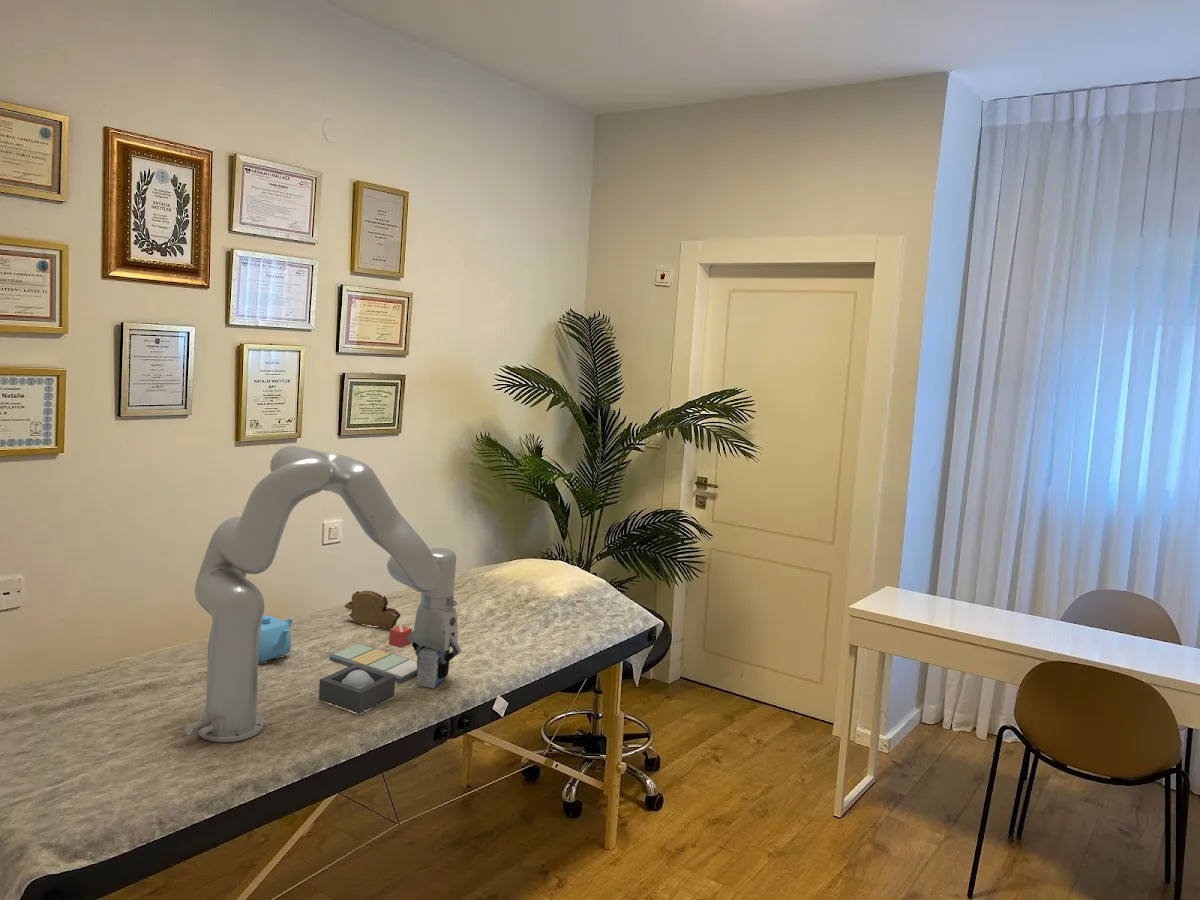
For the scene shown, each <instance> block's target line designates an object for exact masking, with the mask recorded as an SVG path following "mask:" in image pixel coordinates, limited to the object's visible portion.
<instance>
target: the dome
mask: <svg viewBox="0 0 1200 900" xmlns="http://www.w3.org/2000/svg"><path fill="white" fill-rule="evenodd" d="M373 682H374V680H373V679H372V678H371V677H370V676H369V674H368V673H367V672H365V671H363V670H354V671H352V672H350V673H349V674H348V675H347V676H346V678H344V679H343V680H342V683H344V684H347V685H350V686H353V687H356V688H358V689H361V688H363V687H365V686H367V685H369V684H371V683H373Z"/></svg>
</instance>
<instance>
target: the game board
mask: <svg viewBox="0 0 1200 900" xmlns="http://www.w3.org/2000/svg"><path fill="white" fill-rule="evenodd" d="M329 661H332V662H335V663H338V664H341V665H344V666H347V667H349V666H351V665H354V664H359V665H362V666H365V667H369V668H372V669H375V670H378V671H381V672H384V673H387V674H390V675H393V676H396V677H395V683H399V684H402V683H403V681H404V682H406V681H408V680H409V678H410V679H412V678H414V677H416V676H418V672H417V660H414V659H411V658H408V657H405V656H401V655H398V654H395V653H392V652H388V651H386V650H382V649H379V648H375V647H373V646H369V645H366V644H363V643H356V644H354V645H352V646H350V647H346V648H345V649H341V650H340V651H338V652H334V653H333V654H332V655H329ZM415 675H416V676H415ZM413 676H414V677H413ZM411 677H412V678H411ZM407 679H408V680H407ZM405 680H406V681H405ZM401 682H402V683H401Z"/></svg>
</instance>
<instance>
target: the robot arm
mask: <svg viewBox="0 0 1200 900" xmlns="http://www.w3.org/2000/svg"><path fill="white" fill-rule="evenodd" d="M269 468H270V473H268V474H266V475H265V476H264V477H263V478H262V479H261V480H260V481H259V482H258V483H257V484H256V485H255V487H254V488H253V489H252V491H251V493H250V494H249V497H248V499H247V501H246V504H245V506H244V509H243V511H242V514H241V516H234V517H230V518H228V519H226V520H224V521H222V523H220V525H219V526H218V527H217V528H216V529H215V531H213V534H212V536H211V538H210V541H209V542H208V546H207V549H206V551H205V555H204V557H203V560H202V563H201V565H200V569H199V572H198V575H197V578H196V581H195V586H194V595H195V598H196V601H197V603H198V604H199V605H200V606H201V608H203V610H204V611H206V612H207V613H208V614H209V616H211V618H212V619H211V620H212V624H211V628H210V632H209V637H208V643H207V665H206V666H207V671H206V701H205V702H206V703H205V704H206V706H205V710H204V711H201V716H200V718H198V720H197V721H196V722H195V721H194V722H192V723H189V724H187V725H185V727H184V732H185V733H186V734H187V735H188V736H190V735H194V734H196V733H197V734H198V735H199V736H200V737H201V738H202V739H204V740H207V741H210V742H216V743H233V742H240V741H243V740H244V741H245V740H248V739H250V738H253V737H255V736H256V735H258V734H260V732H262V730H263V729H264V727H265V719H264V717H263V716H262V715H261V714H259V713H257V708H258V684H259V683H258V681H259V680H258V679H259V677H258V676H259V663H258V658H259V637H260V629H261V623H262V619H263V616H264V613H265V599H264V596H263V594H262V592H261V591H260V589H259V588H258V587H257V585H256V584H254V582H252V581H250V580H249V579H248V578H246V576H247V574H248V575H257V574H258V575H259V574H261V573H264V572H265V571H267V570H268V569H269V568H270V567H271V566H272V564H273V562H274V559H275V557H276V554H277V551H278V548H279V545H280V542H281V540H282V536H283V533H284V530H285V527H286V524H287V523H288V520H289V517H290V515H291V513H292V511H293V510H294V508H295V507H296V506H297V505H298V504H299V503H301V502H302V501H304V500H305V499H307V498H309V497H310V496H314V495H315V494H318V493H321V492H322V491H326V492H331V493H334V494H336V495H338V496H340V497H341V498H342V500H343V501H344V502H345V504H346V505H347V507H348V509H349V511H350V512H351V514H352V515H353V517H354V518H355V520H356V521H357V523H358V524H359V526H360V527H361V529H362V530H363V532H364V533H365V535H366V536H368V538H370V539H371V540H372V541H373V542H374V543H375V544H376V545H378V546H379V547H381V548H382V549H383V550H384V551H386V552H387V553H388V554H389V555H390V557H389V559H388V561H387V564H386V567H387V572H388V573H389V575H390V576H391V578H393V579H394V580H396V581H397V582H399V583H401V584H403V585H405V586H407V587H408V588H410V589H412V590H413V591H415V592H419V593H420V594H421V596H420V603H419V604H418V607H417V610H416V614H415V619H414V627H413V630H412V633H411V634H410V635H409V636H408V639H409V641H410V642H411V643H410V644H411V646H412V648H413V650H414V651H415V655H416V656H417V658H416V659H417V660H416V661H417V672H418V658H419V652H420V651H421V650H422V649H423V648H424V647H428V648H431V649H434V650H438V651H439V655H440V660H441V662H440V663H439V664H438V679H442V678H444V677H445V678H446V677H447V676H448V674H449V670H450V668H449V667H450V661H452V660H453V658H455V657H456V656H458V655H460V654H461V653H462V649H461V647H460V645H459V643H458V639H459V638H458V637H459V625H458V624H459V623H458V614H457V609H456V606H457V604H458V601H457V600H455V596H454V595H455V585H456V584H455V581H456V569H457V555H456V553H455V552H454V550H452V549H449V548H444V547H435V548H434V547H433V548H429V547H428V545H427V543H425V542H426V541H424V539H423V538H422V537H421V536H420V535H419V534H418V532H417V531H415V529H414V528H413V527H412V525H410V523H409V522H408V521H407V519H405V518H404V516H403V515H402V514H401V513H400V511H399V510H398V509H397V507H396V505H395V504H394V502H393V500H392V498H391V497H390V496H389V494H388V492H387V491H386V489H385V488H384V486H383V484H382V482H381V481H380V480H379V479H380V478H378V476H377V474H376V473H375V471H374V470H373V468H372V467H370V466H369V465H368V464H367V463H365V462H363V461H360V460H358V459H355V458H352V457H350V456H345V455H343V454H337V453H331V452H326V451H320V450H314V449H310V448H306V447H300V446H295V445H289V446H285V447H282V448H280V449H279V450H277V451H276V452H275V453H274V455H273V456H272V458H271V460H270V465H269ZM451 649H452V651H451ZM445 654H446V656H445ZM445 678H444V679H445Z"/></svg>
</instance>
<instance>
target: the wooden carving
mask: <svg viewBox="0 0 1200 900" xmlns="http://www.w3.org/2000/svg"><path fill="white" fill-rule="evenodd" d="M388 605H389V603H388V598H387V597H386V596H385V595H384V596H382V595H381V594H380V593H378V592H376V591H372V590H362V591H356V592H353V594H352V595H351V601H349V602H347V603H346V604H344V608H345V609H347V610H351V613H349V615H348V616H349V617H350V618H351V619H352V620H353V621H355V622H356V623H358V624H359V625H361V624H365V625H371V626H378V627H377V628H379V627H384V628H385V629H389V630H390V629H392V628H394V627H396V626H397V621H398V620H399V618H401V613H400V612H399V611H398V610H397V609H395V608H392V607H387V606H388Z"/></svg>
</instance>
